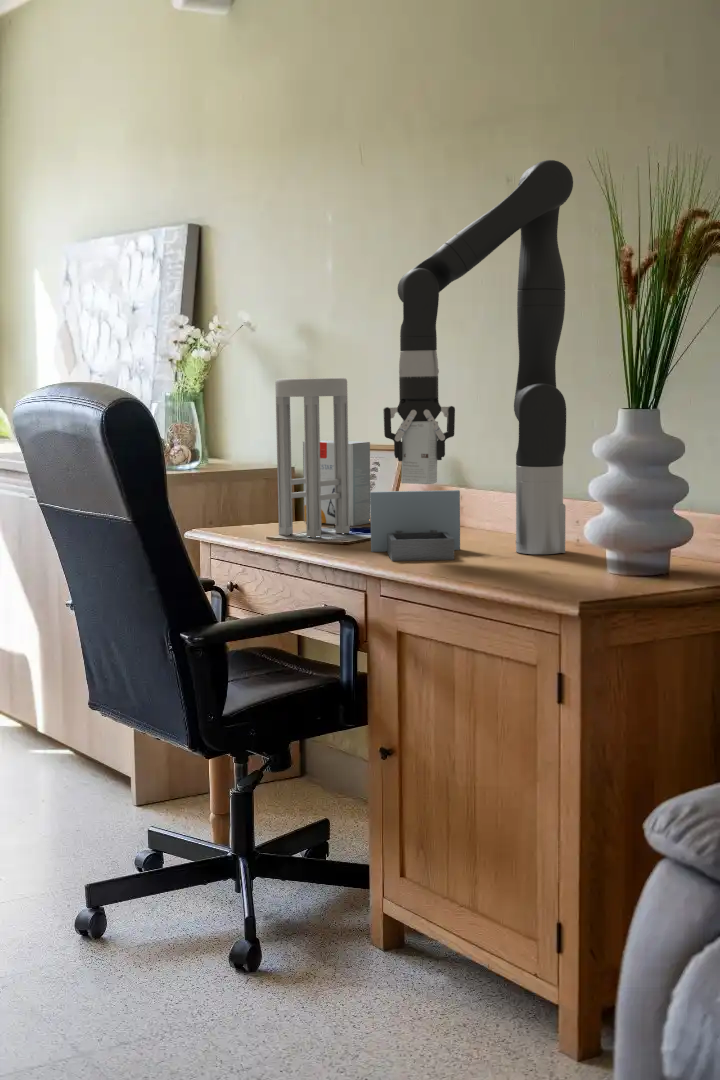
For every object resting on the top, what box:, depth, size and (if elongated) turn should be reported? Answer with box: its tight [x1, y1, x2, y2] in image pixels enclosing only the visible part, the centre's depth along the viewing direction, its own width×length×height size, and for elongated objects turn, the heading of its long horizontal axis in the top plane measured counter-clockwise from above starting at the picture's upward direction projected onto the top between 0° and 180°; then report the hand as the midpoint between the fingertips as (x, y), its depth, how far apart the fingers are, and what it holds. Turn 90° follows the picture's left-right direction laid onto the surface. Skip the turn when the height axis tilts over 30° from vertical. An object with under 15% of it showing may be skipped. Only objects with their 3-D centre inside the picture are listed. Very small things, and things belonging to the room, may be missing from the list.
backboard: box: [370, 489, 461, 553], centre depth 263 cm, size 18×2×12 cm, turn 93°
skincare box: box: [400, 420, 439, 485], centre depth 253 cm, size 6×4×12 cm
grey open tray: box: [386, 530, 455, 562], centre depth 256 cm, size 12×14×4 cm
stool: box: [275, 377, 351, 537], centre depth 293 cm, size 16×16×35 cm
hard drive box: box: [302, 439, 371, 527], centre depth 316 cm, size 16×8×20 cm, turn 53°
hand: (419, 460), depth 253 cm, fingers closed on skincare box, 7 cm apart
